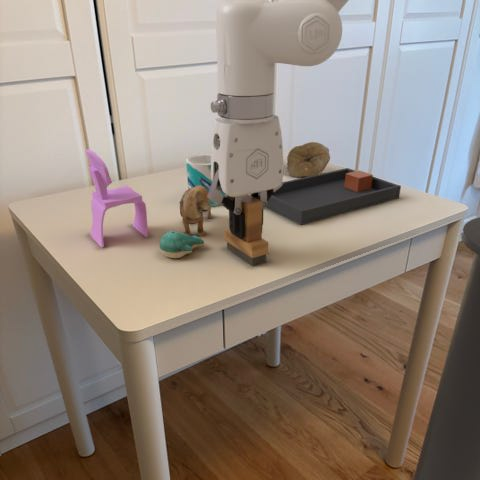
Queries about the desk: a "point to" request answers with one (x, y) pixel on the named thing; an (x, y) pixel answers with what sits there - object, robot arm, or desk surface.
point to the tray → (327, 196)
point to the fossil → (307, 159)
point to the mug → (200, 173)
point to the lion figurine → (195, 208)
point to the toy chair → (111, 199)
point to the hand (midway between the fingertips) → (246, 232)
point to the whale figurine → (178, 244)
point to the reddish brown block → (358, 181)
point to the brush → (249, 234)
